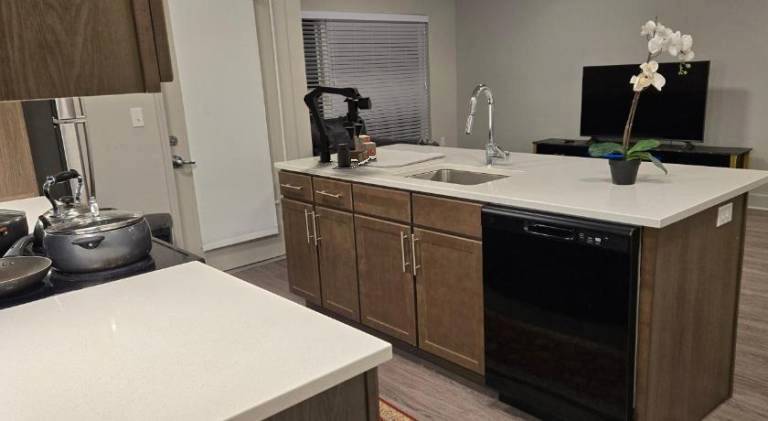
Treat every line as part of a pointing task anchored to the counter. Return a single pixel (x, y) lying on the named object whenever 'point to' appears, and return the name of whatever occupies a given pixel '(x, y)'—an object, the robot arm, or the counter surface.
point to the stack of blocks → (365, 144)
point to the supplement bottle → (343, 156)
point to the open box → (359, 155)
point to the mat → (343, 167)
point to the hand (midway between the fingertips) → (354, 138)
